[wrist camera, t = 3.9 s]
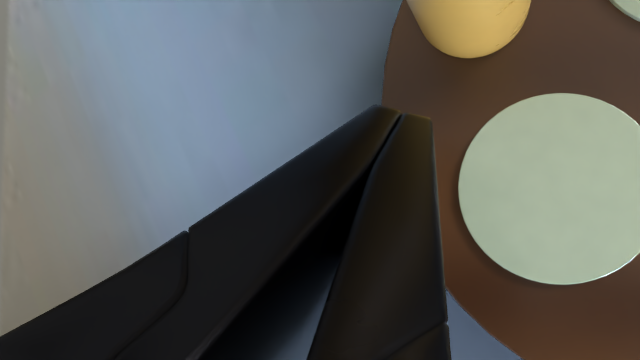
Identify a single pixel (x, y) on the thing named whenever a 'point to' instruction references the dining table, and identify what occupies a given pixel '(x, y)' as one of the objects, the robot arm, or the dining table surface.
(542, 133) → the joystick with buttons
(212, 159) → the dining table surface
